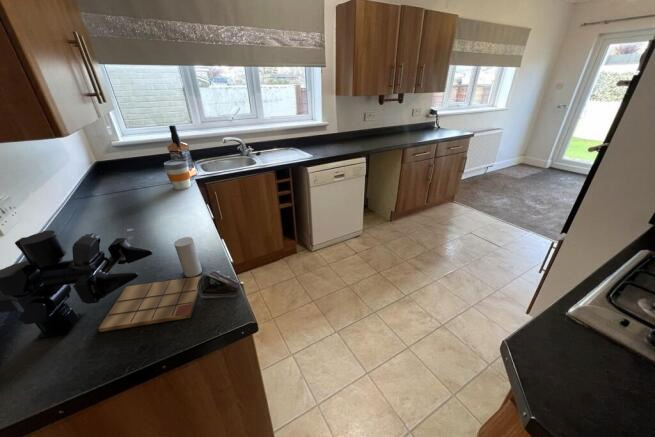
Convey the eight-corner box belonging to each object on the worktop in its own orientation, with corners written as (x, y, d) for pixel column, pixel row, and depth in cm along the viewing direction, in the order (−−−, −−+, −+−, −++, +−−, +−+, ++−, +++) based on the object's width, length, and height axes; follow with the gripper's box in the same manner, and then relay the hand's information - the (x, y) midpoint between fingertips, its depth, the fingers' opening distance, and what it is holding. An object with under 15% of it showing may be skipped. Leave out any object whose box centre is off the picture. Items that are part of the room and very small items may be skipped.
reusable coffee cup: (168, 186, 161) (160, 162, 154) (189, 181, 169) (183, 157, 162) (174, 192, 153) (166, 166, 146) (197, 186, 160) (190, 161, 153)
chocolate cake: (247, 281, 85) (218, 256, 83) (241, 291, 78) (209, 264, 76) (228, 301, 86) (198, 277, 85) (220, 313, 79) (188, 287, 78)
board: (99, 332, 69) (97, 328, 68) (127, 289, 83) (126, 286, 82) (190, 317, 72) (189, 314, 72) (203, 278, 86) (202, 275, 86)
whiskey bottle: (174, 177, 176) (159, 126, 161) (184, 172, 184) (170, 124, 169) (188, 178, 174) (173, 127, 159) (197, 173, 182) (185, 124, 167)
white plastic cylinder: (182, 278, 87) (171, 247, 81) (186, 268, 91) (176, 238, 86) (200, 275, 88) (190, 245, 82) (203, 265, 92) (194, 236, 87)
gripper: (24, 269, 52) (113, 259, 55) (81, 223, 68) (148, 217, 71) (53, 310, 58) (133, 299, 60) (100, 258, 74) (161, 251, 76)
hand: (145, 263), depth 67 cm, fingers open, 9 cm apart
